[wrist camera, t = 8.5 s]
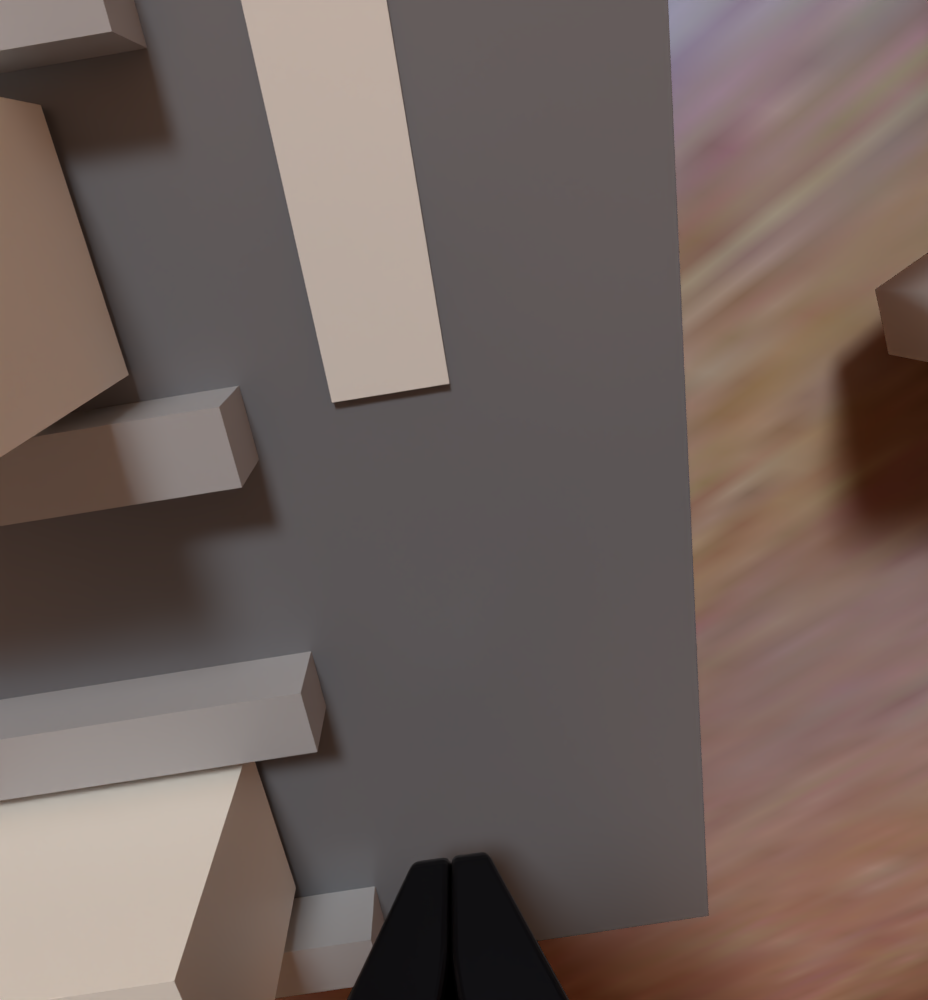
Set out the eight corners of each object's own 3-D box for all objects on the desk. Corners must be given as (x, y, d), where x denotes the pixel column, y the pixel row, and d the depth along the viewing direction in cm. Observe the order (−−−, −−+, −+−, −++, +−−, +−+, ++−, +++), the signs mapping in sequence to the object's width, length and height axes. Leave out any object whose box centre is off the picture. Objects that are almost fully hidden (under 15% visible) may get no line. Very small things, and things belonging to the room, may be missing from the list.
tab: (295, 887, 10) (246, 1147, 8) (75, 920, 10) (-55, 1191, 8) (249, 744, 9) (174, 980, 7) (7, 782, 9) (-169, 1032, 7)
